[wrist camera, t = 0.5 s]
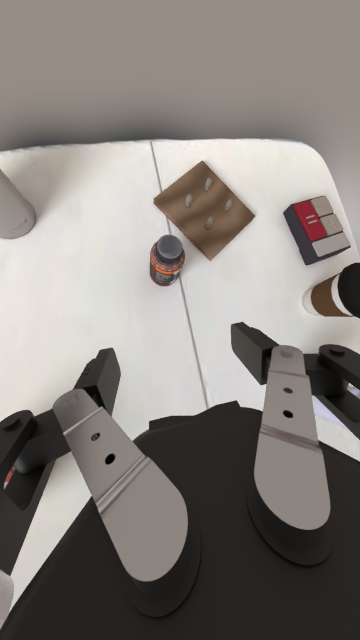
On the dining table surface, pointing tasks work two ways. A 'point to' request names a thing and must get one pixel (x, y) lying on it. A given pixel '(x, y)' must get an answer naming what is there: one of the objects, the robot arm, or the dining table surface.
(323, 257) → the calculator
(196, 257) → the dining table surface
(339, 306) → the coffee cup
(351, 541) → the robot arm
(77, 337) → the dining table surface
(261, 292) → the dining table surface
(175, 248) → the supplement bottle
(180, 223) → the pin tray
